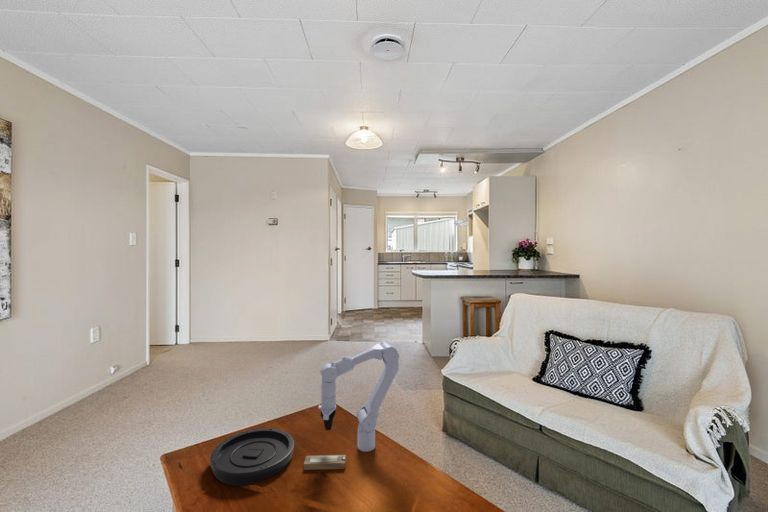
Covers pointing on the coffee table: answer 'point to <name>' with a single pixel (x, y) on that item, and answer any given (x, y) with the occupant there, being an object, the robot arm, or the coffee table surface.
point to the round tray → (251, 456)
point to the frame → (325, 462)
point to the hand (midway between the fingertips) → (328, 429)
